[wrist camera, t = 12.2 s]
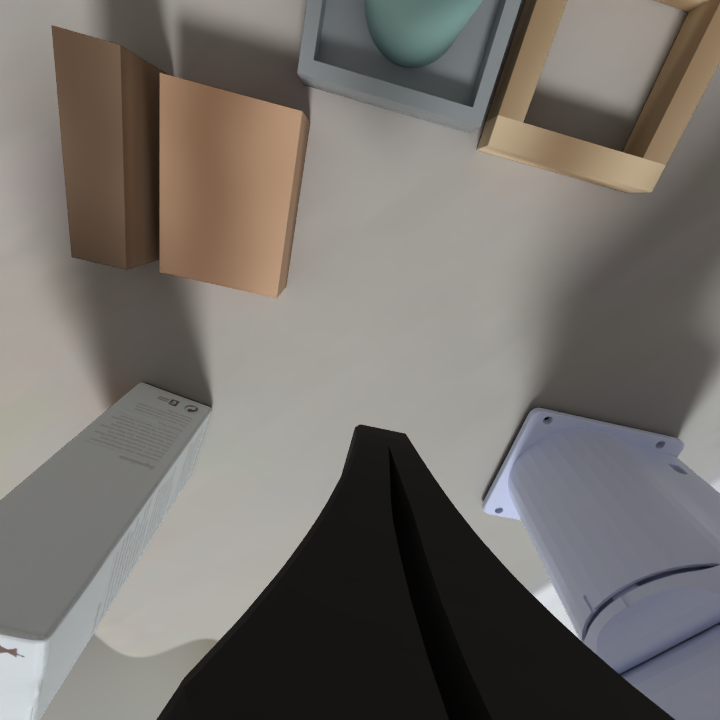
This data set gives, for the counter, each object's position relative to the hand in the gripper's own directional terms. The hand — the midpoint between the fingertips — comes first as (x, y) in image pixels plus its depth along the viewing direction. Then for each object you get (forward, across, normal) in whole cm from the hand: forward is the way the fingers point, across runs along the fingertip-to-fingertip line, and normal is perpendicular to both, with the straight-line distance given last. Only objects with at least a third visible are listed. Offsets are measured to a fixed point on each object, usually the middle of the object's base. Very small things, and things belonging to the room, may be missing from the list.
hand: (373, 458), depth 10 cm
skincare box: (+10, +10, +9) cm, 17 cm away
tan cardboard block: (+10, +7, -5) cm, 13 cm away
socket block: (+10, -6, -12) cm, 17 cm away
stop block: (+10, +11, -5) cm, 16 cm away
